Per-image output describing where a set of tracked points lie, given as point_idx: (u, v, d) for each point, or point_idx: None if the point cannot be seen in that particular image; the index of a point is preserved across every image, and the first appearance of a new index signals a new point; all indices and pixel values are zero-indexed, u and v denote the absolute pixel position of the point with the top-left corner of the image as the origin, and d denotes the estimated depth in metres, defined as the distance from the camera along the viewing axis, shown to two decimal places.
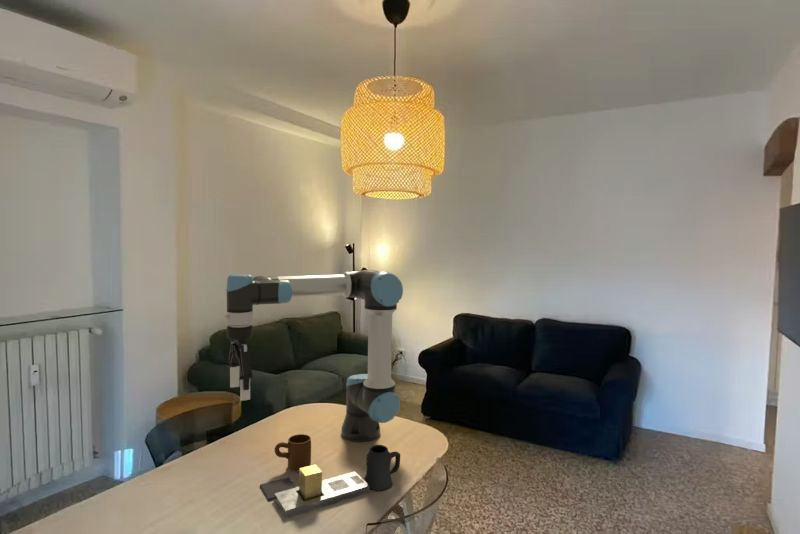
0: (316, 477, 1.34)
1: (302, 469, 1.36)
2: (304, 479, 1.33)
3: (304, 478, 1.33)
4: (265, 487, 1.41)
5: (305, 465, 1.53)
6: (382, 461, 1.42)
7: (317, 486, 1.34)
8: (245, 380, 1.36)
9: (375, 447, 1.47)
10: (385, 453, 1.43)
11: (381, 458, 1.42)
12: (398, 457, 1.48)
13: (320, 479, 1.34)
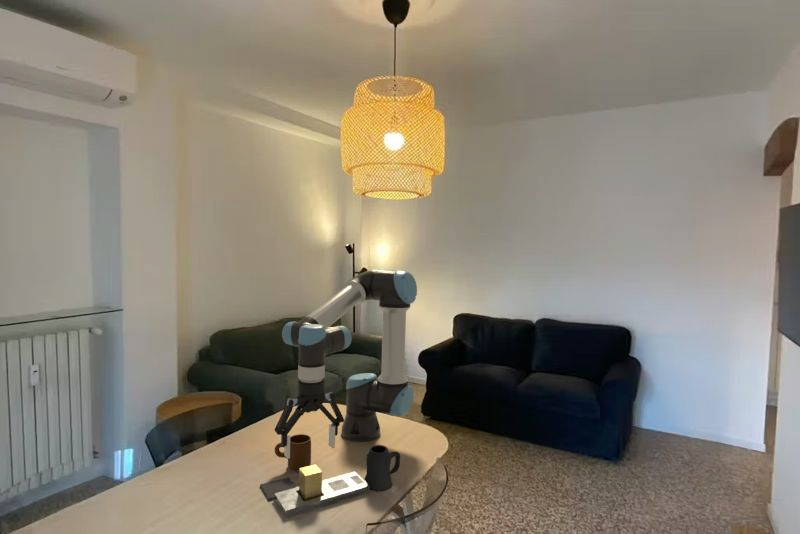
0: (316, 477, 1.34)
1: (302, 469, 1.36)
2: (304, 479, 1.33)
3: (304, 478, 1.33)
4: (265, 487, 1.41)
5: (305, 465, 1.53)
6: (382, 461, 1.42)
7: (317, 486, 1.34)
8: (281, 435, 1.30)
9: (375, 447, 1.47)
10: (385, 453, 1.43)
11: (381, 458, 1.42)
12: (398, 457, 1.48)
13: (320, 479, 1.34)
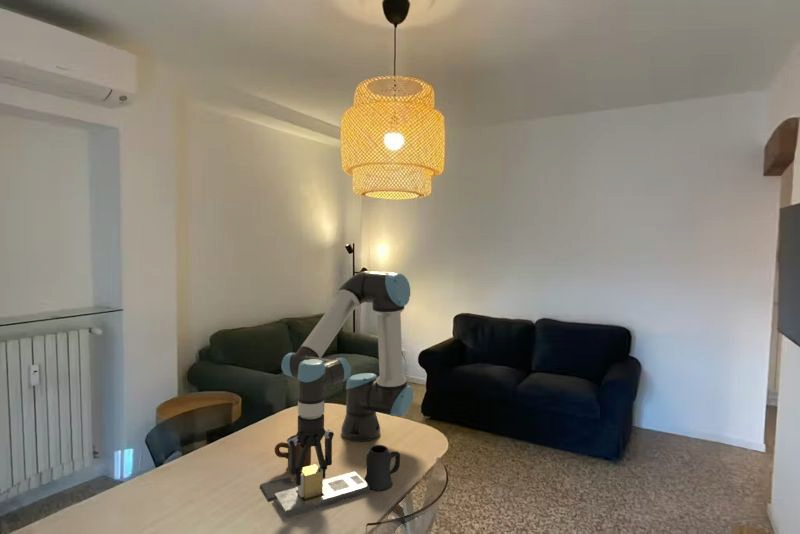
0: (316, 477, 1.34)
1: (302, 469, 1.36)
2: (304, 479, 1.33)
3: (304, 478, 1.33)
4: (265, 487, 1.41)
5: (305, 465, 1.53)
6: (382, 461, 1.42)
7: (317, 486, 1.34)
8: (295, 474, 1.33)
9: (375, 447, 1.47)
10: (385, 453, 1.43)
11: (381, 458, 1.42)
12: (398, 457, 1.48)
13: (320, 479, 1.34)
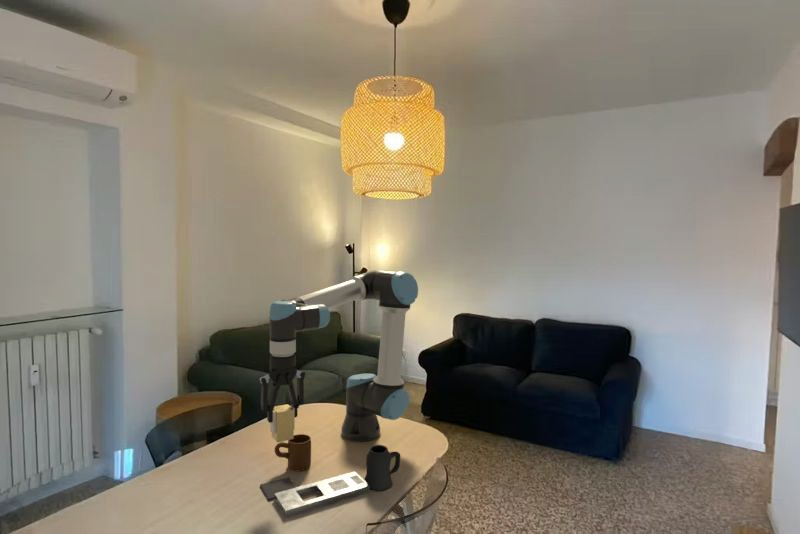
0: (287, 414, 1.38)
1: (274, 407, 1.39)
2: (276, 415, 1.36)
3: (276, 415, 1.36)
4: (265, 487, 1.41)
5: (305, 465, 1.53)
6: (382, 461, 1.42)
7: (289, 423, 1.38)
8: (267, 412, 1.37)
9: (375, 447, 1.47)
10: (385, 453, 1.43)
11: (381, 458, 1.42)
12: (398, 457, 1.48)
13: (292, 416, 1.38)
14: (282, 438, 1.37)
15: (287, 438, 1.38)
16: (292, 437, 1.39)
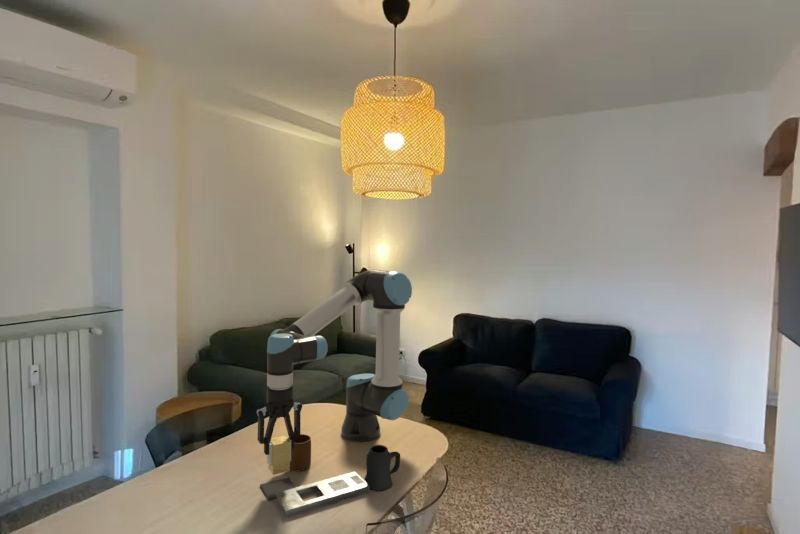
0: (284, 447, 1.39)
1: (271, 439, 1.40)
2: (272, 448, 1.37)
3: (272, 447, 1.37)
4: (265, 487, 1.41)
5: (305, 465, 1.53)
6: (382, 461, 1.42)
7: (286, 456, 1.39)
8: (264, 444, 1.38)
9: (375, 447, 1.47)
10: (385, 453, 1.43)
11: (381, 458, 1.42)
12: (398, 457, 1.48)
13: (288, 449, 1.39)
14: (278, 470, 1.38)
15: (283, 470, 1.39)
16: (288, 469, 1.40)
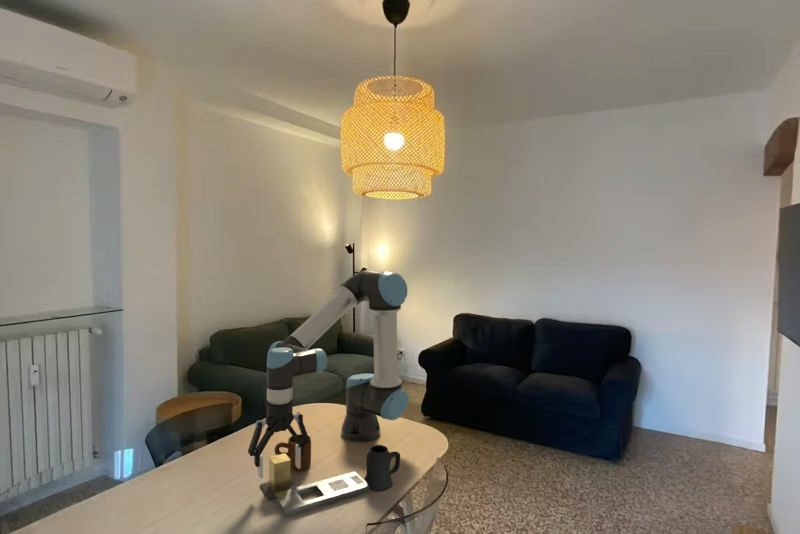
0: (284, 465, 1.39)
1: (272, 457, 1.41)
2: (273, 466, 1.38)
3: (273, 466, 1.38)
4: (265, 487, 1.41)
5: (305, 465, 1.53)
6: (382, 461, 1.42)
7: (286, 474, 1.40)
8: (254, 456, 1.37)
9: (375, 447, 1.47)
10: (385, 453, 1.43)
11: (381, 458, 1.42)
12: (398, 457, 1.48)
13: (289, 467, 1.40)
14: (279, 489, 1.39)
15: (284, 488, 1.39)
16: (289, 487, 1.40)
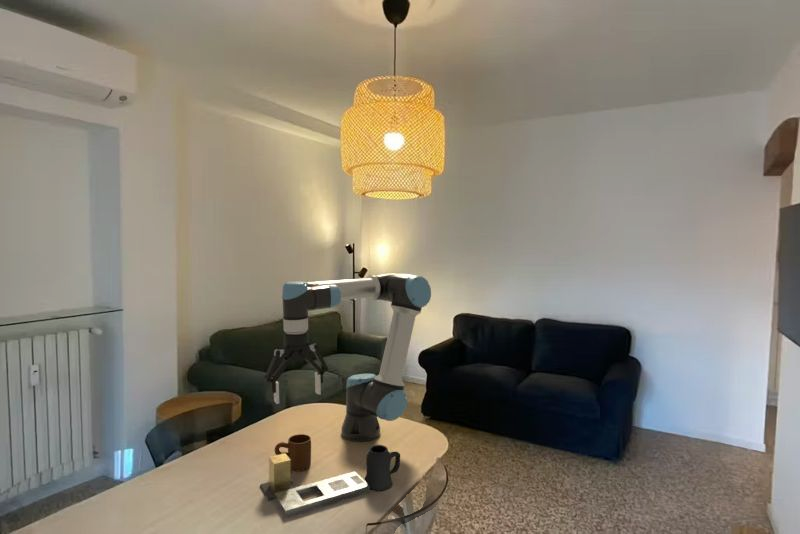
0: (284, 465, 1.39)
1: (272, 457, 1.41)
2: (273, 466, 1.38)
3: (273, 466, 1.38)
4: (265, 487, 1.41)
5: (305, 465, 1.53)
6: (382, 461, 1.42)
7: (286, 474, 1.40)
8: (270, 383, 1.42)
9: (375, 447, 1.47)
10: (385, 453, 1.43)
11: (381, 458, 1.42)
12: (398, 457, 1.48)
13: (289, 467, 1.40)
14: (279, 489, 1.39)
15: (284, 488, 1.39)
16: (289, 487, 1.40)
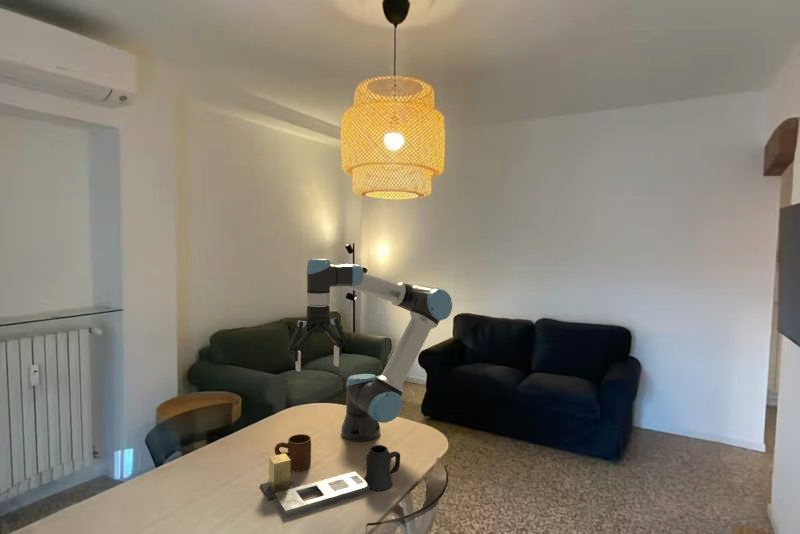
0: (284, 465, 1.39)
1: (272, 457, 1.41)
2: (273, 466, 1.38)
3: (273, 466, 1.38)
4: (265, 487, 1.41)
5: (305, 465, 1.53)
6: (382, 461, 1.42)
7: (286, 474, 1.40)
8: (293, 352, 1.52)
9: (375, 447, 1.47)
10: (385, 453, 1.43)
11: (381, 458, 1.42)
12: (398, 457, 1.48)
13: (289, 467, 1.40)
14: (279, 489, 1.39)
15: (284, 488, 1.39)
16: (289, 487, 1.40)
